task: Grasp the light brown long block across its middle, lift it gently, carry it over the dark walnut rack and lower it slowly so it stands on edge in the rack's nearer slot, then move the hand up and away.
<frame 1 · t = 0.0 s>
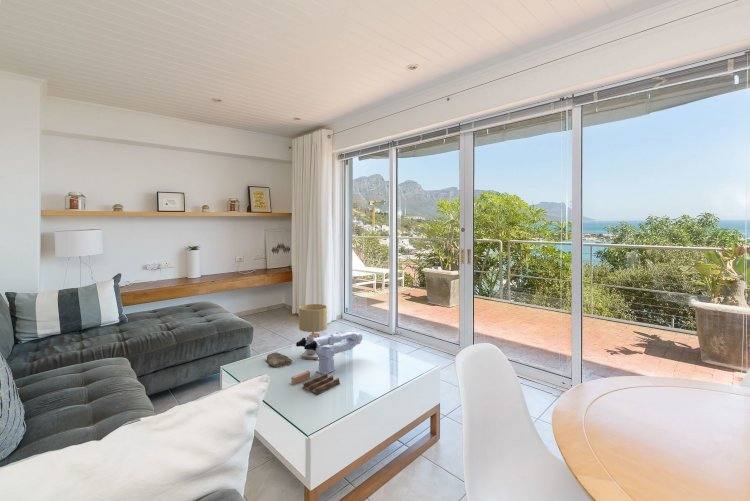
hand: (300, 346, 208), 22 cm above the table, tool horizontal, fingers open, 7 cm apart
desk lamp: (313, 355, 250), on the table
walnut rack: (321, 386, 204), on the table
brown rock: (277, 362, 239), on the table
light brown long block: (301, 380, 211), on the table
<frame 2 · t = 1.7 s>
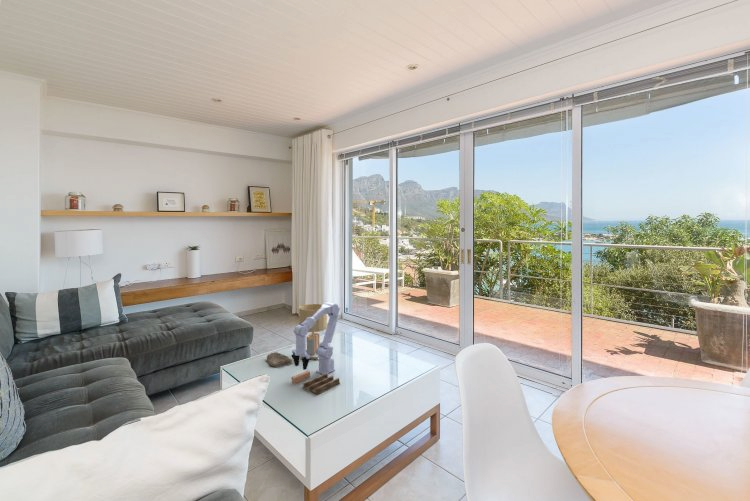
hand: (300, 367, 210), 8 cm above the table, tool pointing down, fingers open, 7 cm apart
nothing on the table moved.
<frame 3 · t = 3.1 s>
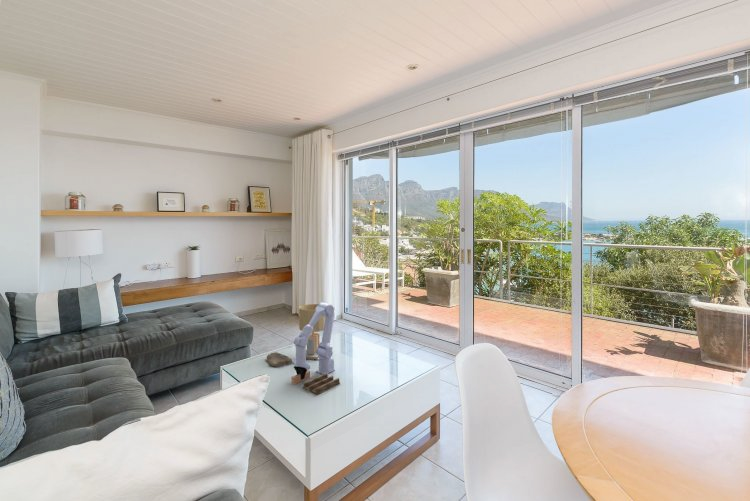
hand: (301, 378, 211), 1 cm above the table, tool pointing down, fingers closed on light brown long block, 2 cm apart
light brown long block: (301, 380, 211), on the table, touching gripper
everything else where it was.
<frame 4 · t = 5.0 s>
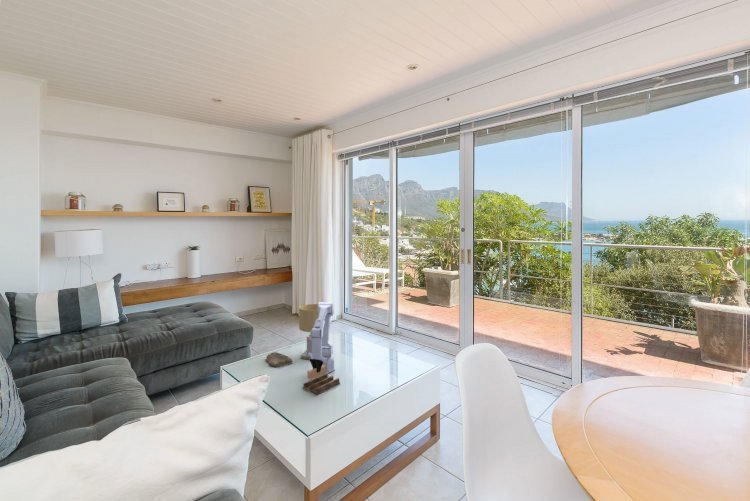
hand: (316, 371, 204), 8 cm above the table, tool pointing down, fingers closed on light brown long block, 2 cm apart
light brown long block: (317, 375, 204), point 6 cm above the table, touching gripper
everything else where it was.
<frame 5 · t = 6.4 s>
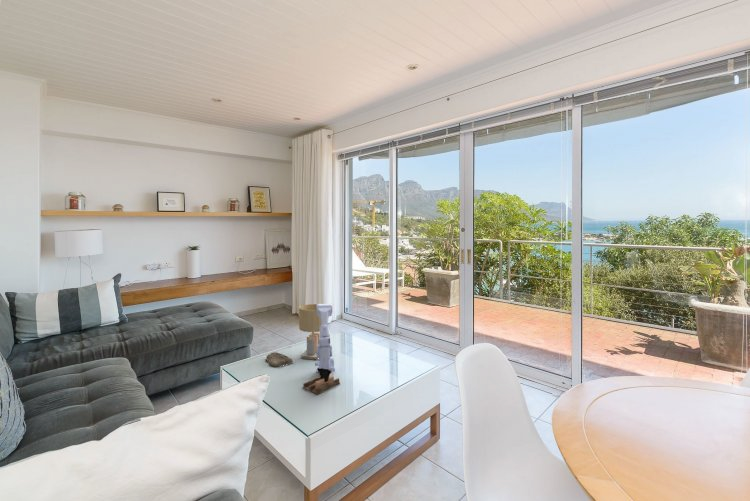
hand: (324, 380, 202), 4 cm above the table, tool pointing down, fingers closed on light brown long block, 2 cm apart
light brown long block: (324, 385, 202), point 1 cm above the table, touching gripper
everything else where it was.
when the fingers open (4 cm above the table, at t = 6.7 s): light brown long block stays where it is, resting on walnut rack.
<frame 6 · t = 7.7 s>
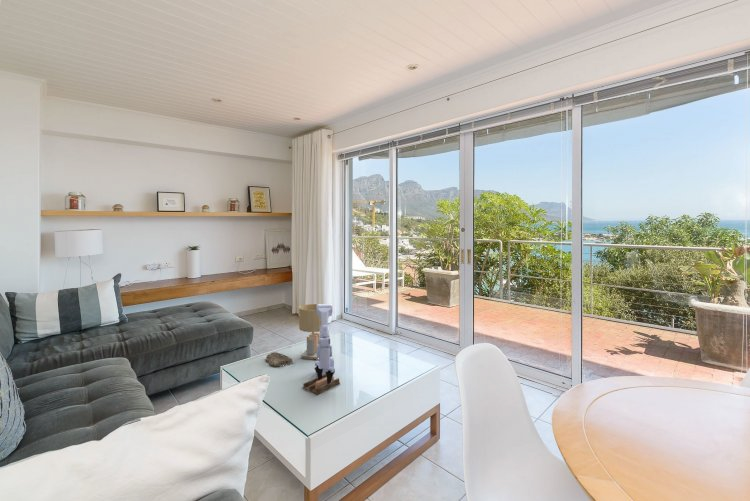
hand: (324, 380, 202), 4 cm above the table, tool pointing down, fingers open, 7 cm apart
light brown long block: (324, 385, 202), point 1 cm above the table, touching walnut rack
everything else where it was.
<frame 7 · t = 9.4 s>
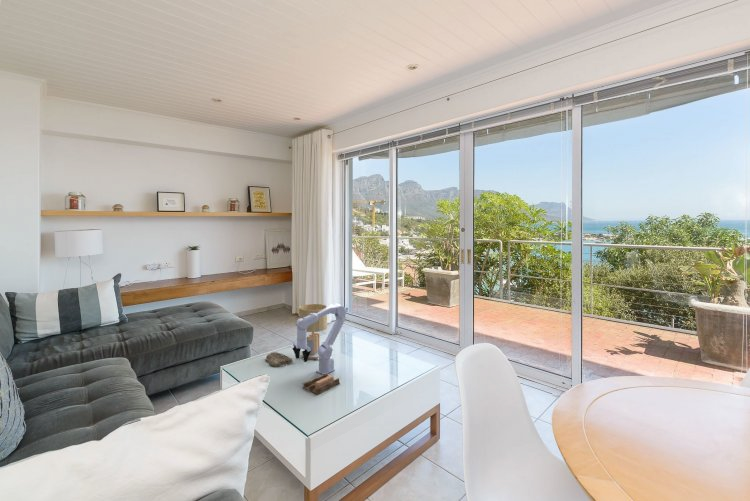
hand: (301, 360, 215), 10 cm above the table, tool pointing down, fingers open, 7 cm apart
nothing on the table moved.
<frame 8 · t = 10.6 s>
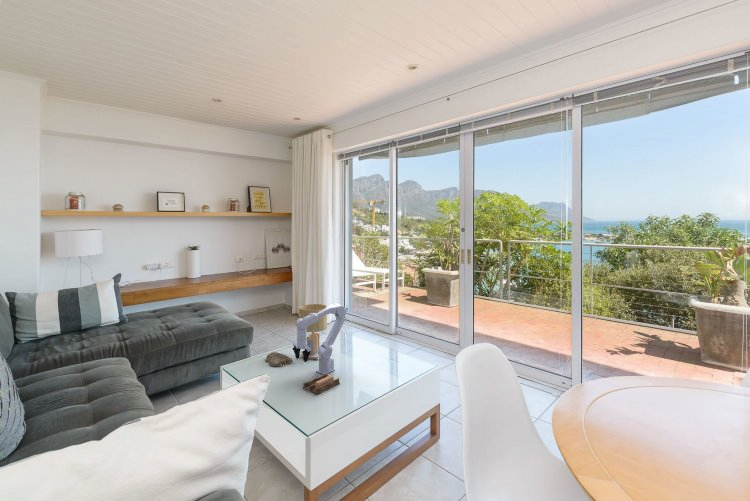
hand: (301, 360, 215), 10 cm above the table, tool pointing down, fingers open, 7 cm apart
nothing on the table moved.
at the end: light brown long block inside the target area on the walnut rack (0.1 cm from its centre), point 1.0 cm above the walnut rack's base; light brown long block tilted 0°; the gripper is holding nothing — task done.
